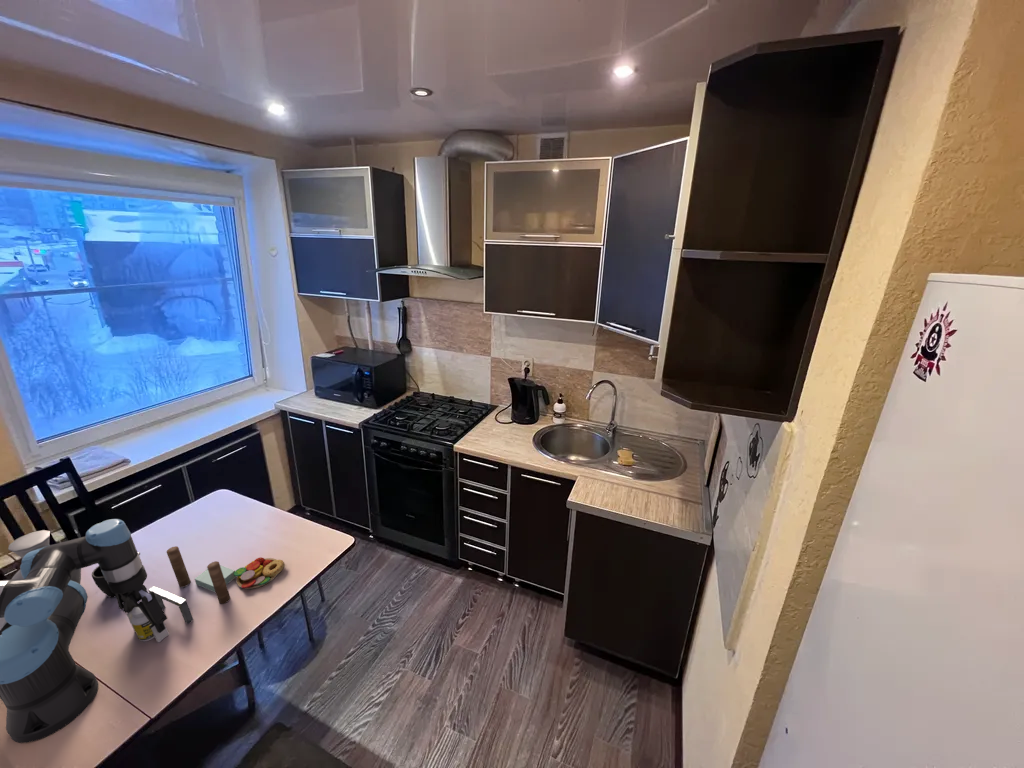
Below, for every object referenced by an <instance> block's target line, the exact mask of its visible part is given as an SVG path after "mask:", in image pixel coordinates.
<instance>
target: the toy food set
mask: <svg viewBox="0 0 1024 768" xmlns="http://www.w3.org/2000/svg"><path fill="white" fill-rule="evenodd" d="M285 566H286V565H285V561H284V560H283V559H277V558H274V557H273V558H271V557H267V558H265V557H257V558H255V559H254V560H252V561H251V562H249V563H248V564H246V565H245V566H244V567H239V568H238V569H237V568H236V570H235V572H234V575H235V576H236V584H237V586H239V588H242V589H245V590H249V589H250V590H251V589H257V588H261V587H263V586H265V585H267V584H268V583H270V582H272V581H273V580H274V579H275V578H276V577H277V576H278V574H280V573H281V572H282V571H283V570H284V568H285Z"/></svg>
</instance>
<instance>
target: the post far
mask: <svg viewBox="0 0 1024 768" xmlns="http://www.w3.org/2000/svg"><path fill="white" fill-rule="evenodd" d="M166 555H167V557H168V560H169V562H170V563H169V564H170V565H171V568H172V571H173V573H174V576H175V578H176V581H177V583H178V587H179V588H185V587H187V586H189V585H190V584H191V583H192V581H191V579H190V576H189V572H188V570H187V567H186V565H185V562H184V559H183V556H182V554H181V550H180V547H178V546H172V547H170V548H168V549H167V550H166Z"/></svg>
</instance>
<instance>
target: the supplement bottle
mask: <svg viewBox="0 0 1024 768" xmlns="http://www.w3.org/2000/svg"><path fill="white" fill-rule="evenodd" d="M131 613H132V616H133V617H132V619H131V622H132V625H133V627H134V629H135V631H134V632H135V633H136V636H137V639H138V640H139V641H141V642H147V641H150V640H151V641H152V640H153V639H154V638H155V636H154V634H153V632H152V629H151V628H149V626H150V625H151V623H150V622H149V620H148V619H147V617H146V616H145V615H144V613H143V612H142V611H141V609H140V608H139V607H134V608H133V610H132V612H131ZM132 625H131V626H132ZM133 627H132V628H133ZM134 629H133V630H134Z"/></svg>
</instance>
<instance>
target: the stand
mask: <svg viewBox="0 0 1024 768" xmlns="http://www.w3.org/2000/svg"><path fill="white" fill-rule="evenodd" d="M220 567H221V570H222V573H223V576H224V579H225V582H226V585H228V584H229V583H231V582H232V581H233V580H234V579H235V578H237V576H235V575H234V572H235V571H236V570H234V569H232V568H229V567H227V566H225V565H220ZM194 581H195V585H197V586H199V587H201V588H204V589H206V590H209V591H211V592H214V593H216V592H215V589H214V586H213V583H212V580H211V577H210V574H209V571H208V568H207V569H206V570H205V571H203V572H202V573H200V574H199V575H198V576H196V577H195V578H194Z"/></svg>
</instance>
